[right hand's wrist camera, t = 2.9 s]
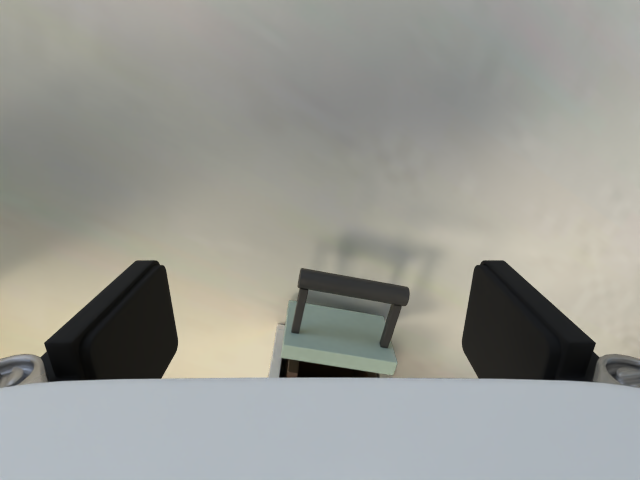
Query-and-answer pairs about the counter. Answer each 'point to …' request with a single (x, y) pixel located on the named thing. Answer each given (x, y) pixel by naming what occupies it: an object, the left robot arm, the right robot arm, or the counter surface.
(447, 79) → the counter surface
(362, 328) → the drawer
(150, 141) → the counter surface
